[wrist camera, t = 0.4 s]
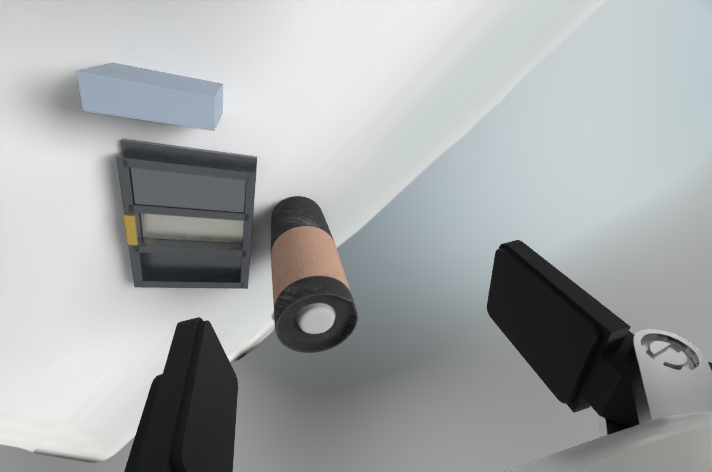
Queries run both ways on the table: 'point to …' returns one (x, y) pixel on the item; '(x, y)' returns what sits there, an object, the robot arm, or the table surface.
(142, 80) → the panel
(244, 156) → the rack
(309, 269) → the travel mug
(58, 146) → the table surface
